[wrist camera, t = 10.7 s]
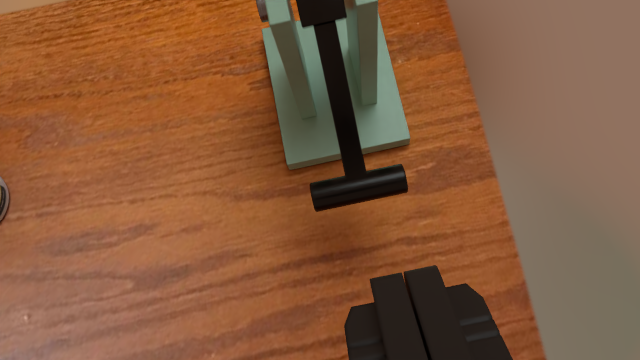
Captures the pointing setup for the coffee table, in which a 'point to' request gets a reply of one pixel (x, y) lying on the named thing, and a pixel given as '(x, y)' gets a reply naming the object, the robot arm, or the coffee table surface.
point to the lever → (344, 119)
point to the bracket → (310, 88)
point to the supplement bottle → (3, 198)
